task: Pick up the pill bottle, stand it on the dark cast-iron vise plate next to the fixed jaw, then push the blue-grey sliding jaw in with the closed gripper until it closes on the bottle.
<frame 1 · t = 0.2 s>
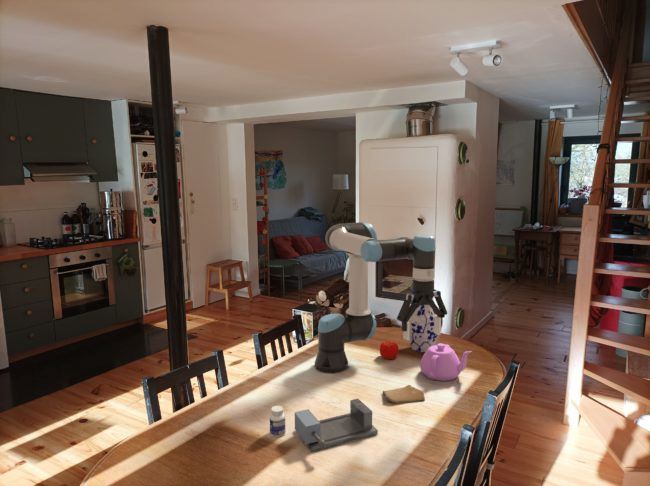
hand: (422, 336, 170), 28 cm above the table, fingers open, 13 cm apart
sliding jaw: (311, 431, 150), point 5 cm above the table, slide at 0.0 cm
vase: (422, 349, 233), on the table
stone: (403, 398, 184), on the table
vise: (336, 432, 158), on the table
pill bottle: (277, 433, 158), on the table
tomato: (388, 358, 223), on the table
teapot: (445, 376, 202), on the table
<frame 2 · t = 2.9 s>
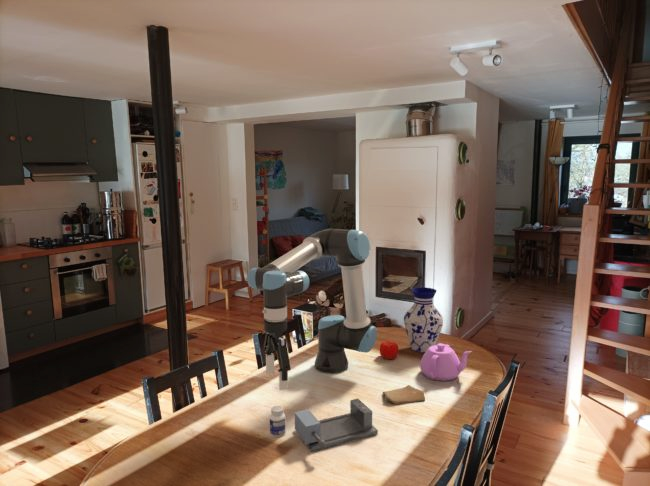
hand: (276, 380, 155), 19 cm above the table, fingers open, 13 cm apart
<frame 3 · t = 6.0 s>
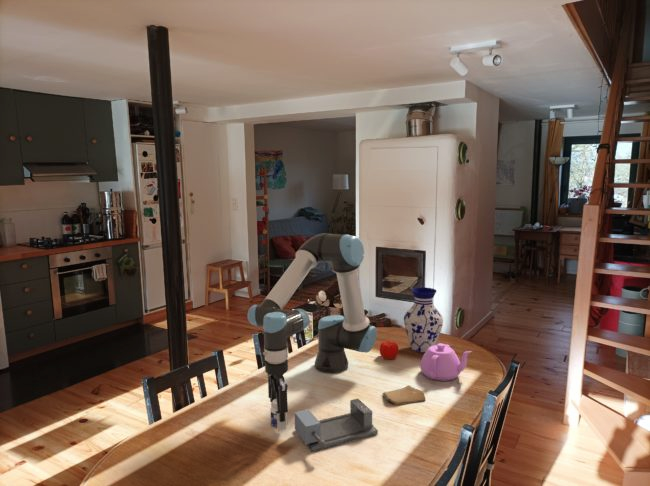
hand: (278, 424, 158), 3 cm above the table, fingers closed on pill bottle, 5 cm apart
pill bottle: (278, 426, 158), point 2 cm above the table, touching gripper
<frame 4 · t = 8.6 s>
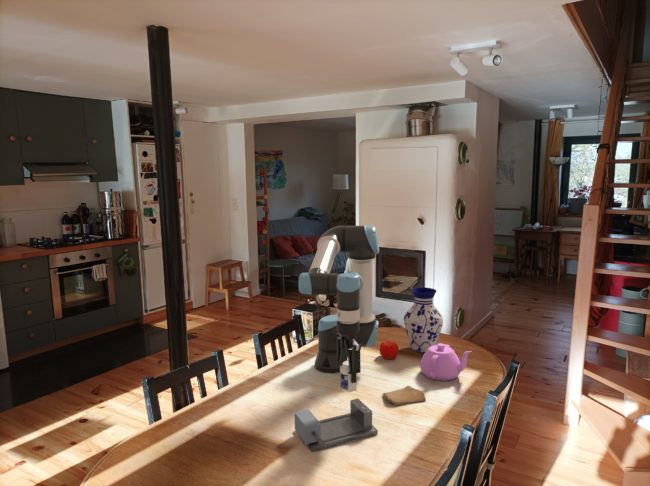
hand: (348, 387, 158), 15 cm above the table, fingers closed on pill bottle, 5 cm apart
pill bottle: (348, 388, 158), point 15 cm above the table, touching gripper
everything else where it was.
when the fingers open (2 cm above the table, at t = 11.2 s): pill bottle stays where it is, resting on vise.
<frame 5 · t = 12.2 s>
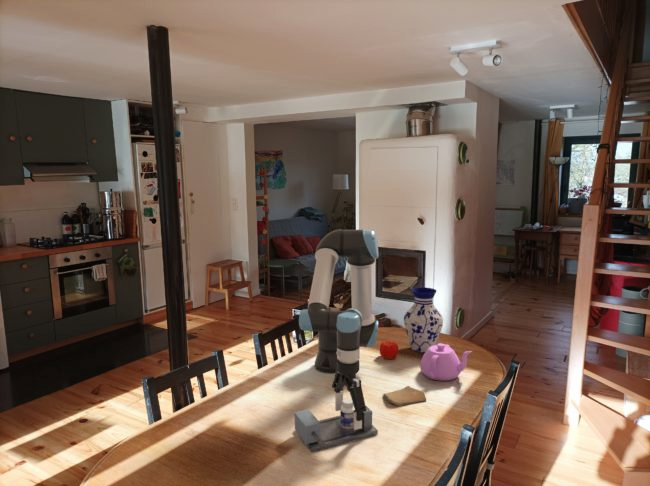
hand: (348, 419, 160), 4 cm above the table, fingers open, 13 cm apart
pill bottle: (348, 425, 160), point 1 cm above the table, touching vise
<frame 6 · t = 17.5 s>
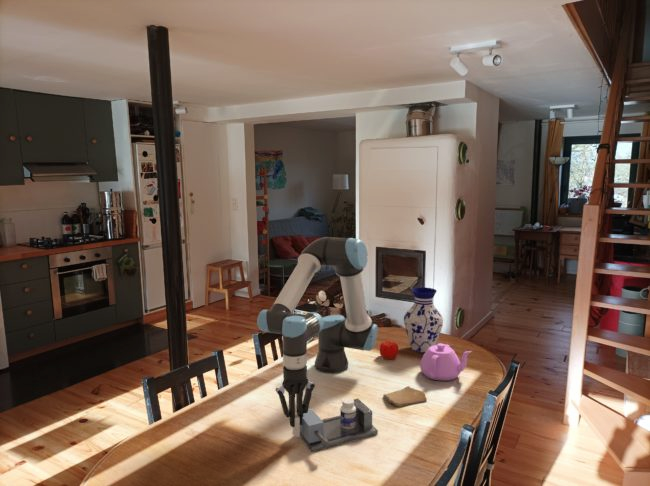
hand: (296, 434, 152), 3 cm above the table, fingers closed
sliding jaw: (314, 431, 150), point 5 cm above the table, slide at 1.1 cm, touching gripper
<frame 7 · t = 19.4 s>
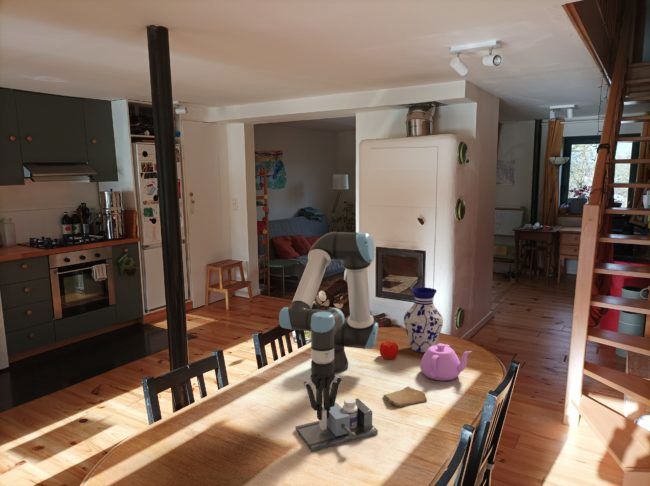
hand: (322, 427, 156), 3 cm above the table, fingers closed
sliding jaw: (341, 424, 154), point 5 cm above the table, slide at 10.5 cm, touching gripper
pill bottle: (349, 425, 160), point 1 cm above the table
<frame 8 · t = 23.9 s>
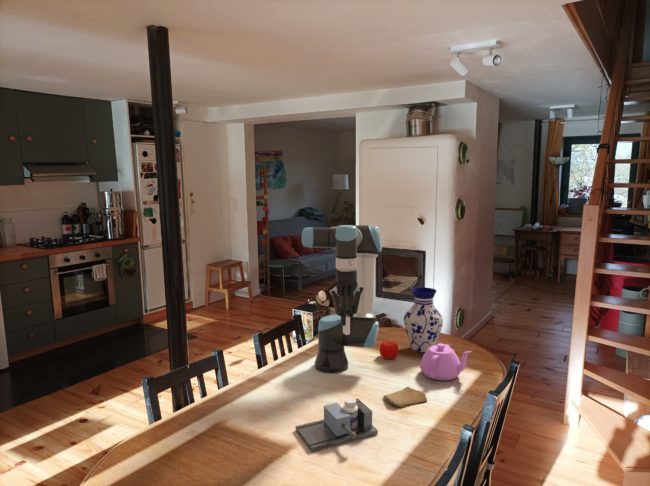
hand: (346, 333, 169), 29 cm above the table, fingers closed
sliding jaw: (341, 424, 154), point 5 cm above the table, slide at 10.7 cm
pill bottle: (350, 425, 160), point 1 cm above the table, touching vise
at the end: pill bottle inside the target area on the vise (0.5 cm from its centre), point 1.3 cm above the vise's base; pill bottle tilted 0°; sliding jaw slide at 10.7 cm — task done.
